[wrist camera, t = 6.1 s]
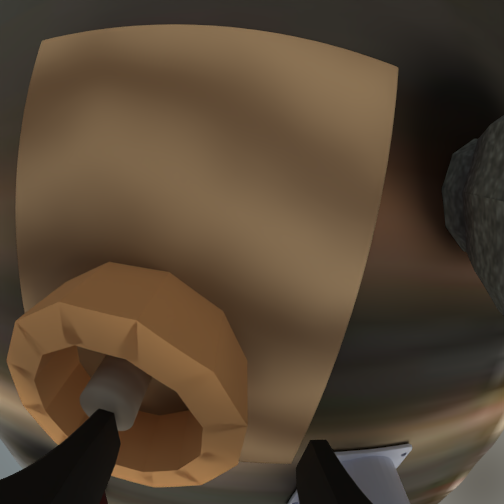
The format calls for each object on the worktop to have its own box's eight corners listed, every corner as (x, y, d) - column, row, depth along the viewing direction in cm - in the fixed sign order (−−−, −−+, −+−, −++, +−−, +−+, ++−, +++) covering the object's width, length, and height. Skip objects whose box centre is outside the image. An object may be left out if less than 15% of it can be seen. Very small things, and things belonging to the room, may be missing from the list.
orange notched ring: (231, 442, 15) (228, 499, 11) (70, 405, 14) (44, 449, 10) (261, 285, 12) (267, 341, 8) (43, 248, 11) (-13, 279, 7)
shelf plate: (289, 450, 16) (296, 507, 12) (60, 405, 16) (32, 449, 11) (386, 74, 11) (444, 42, 6) (54, 46, 10) (-2, 20, 5)
